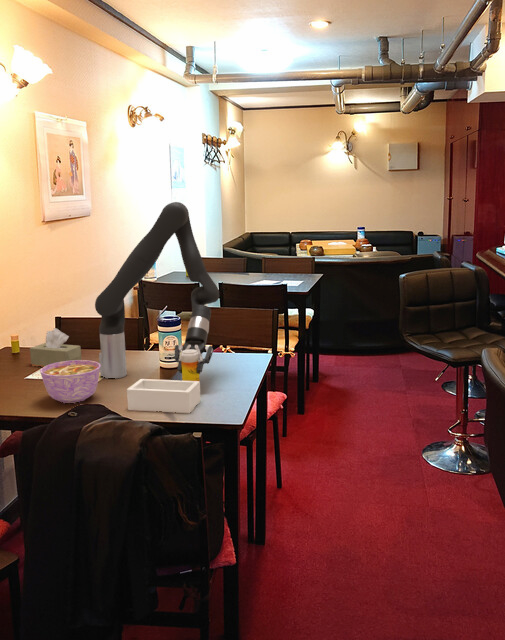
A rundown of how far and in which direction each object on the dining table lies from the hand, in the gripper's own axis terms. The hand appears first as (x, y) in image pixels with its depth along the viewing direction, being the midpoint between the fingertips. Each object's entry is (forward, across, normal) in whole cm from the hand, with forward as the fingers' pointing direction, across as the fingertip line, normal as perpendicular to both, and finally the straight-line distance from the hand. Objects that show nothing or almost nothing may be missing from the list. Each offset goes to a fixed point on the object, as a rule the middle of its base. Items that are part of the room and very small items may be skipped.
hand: (189, 372), depth 222 cm
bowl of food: (+14, -38, -3) cm, 41 cm away
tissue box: (-15, -67, +26) cm, 73 cm away
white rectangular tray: (+15, -5, -4) cm, 16 cm away
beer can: (+4, 0, +7) cm, 8 cm away
